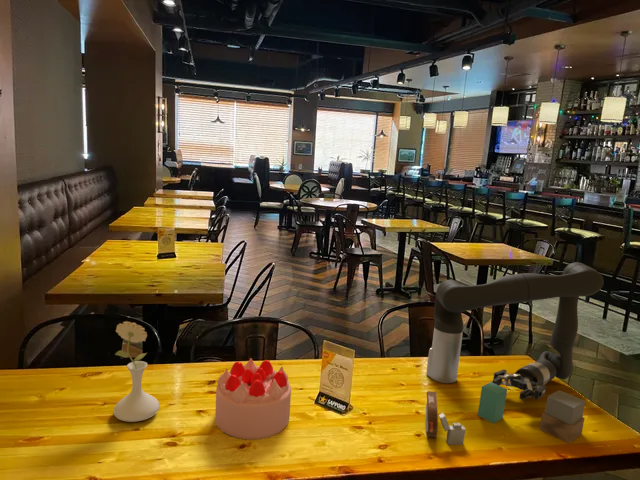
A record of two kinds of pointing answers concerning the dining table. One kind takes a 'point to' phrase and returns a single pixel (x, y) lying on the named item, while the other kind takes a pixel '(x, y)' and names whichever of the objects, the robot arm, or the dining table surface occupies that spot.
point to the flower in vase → (135, 380)
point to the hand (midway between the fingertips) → (507, 390)
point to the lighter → (453, 431)
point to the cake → (252, 401)
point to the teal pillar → (492, 402)
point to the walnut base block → (561, 428)
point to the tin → (431, 414)
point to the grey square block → (565, 407)
